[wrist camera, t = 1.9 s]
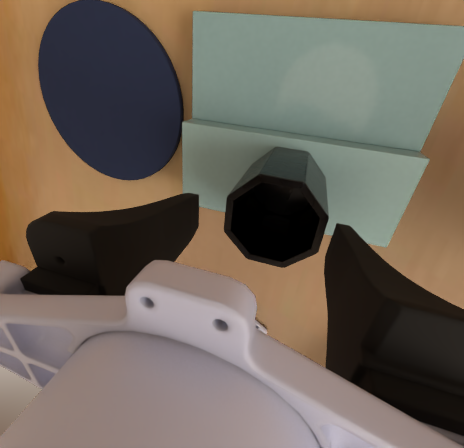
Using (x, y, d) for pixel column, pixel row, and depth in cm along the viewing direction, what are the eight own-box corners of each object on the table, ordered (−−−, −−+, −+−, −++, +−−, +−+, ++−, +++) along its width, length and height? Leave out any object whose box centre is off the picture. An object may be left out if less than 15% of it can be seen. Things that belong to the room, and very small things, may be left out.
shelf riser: (462, 31, 15) (498, 20, 12) (377, 224, 21) (386, 247, 19) (202, 15, 18) (180, 4, 15) (198, 188, 25) (182, 203, 22)
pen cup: (332, 155, 17) (338, 188, 12) (312, 224, 19) (310, 275, 14) (254, 142, 18) (228, 168, 13) (245, 209, 20) (221, 252, 15)
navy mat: (215, 94, 20) (213, 94, 20) (139, 204, 28) (136, 206, 27) (69, -51, 18) (62, -54, 18) (30, 109, 26) (24, 110, 25)
